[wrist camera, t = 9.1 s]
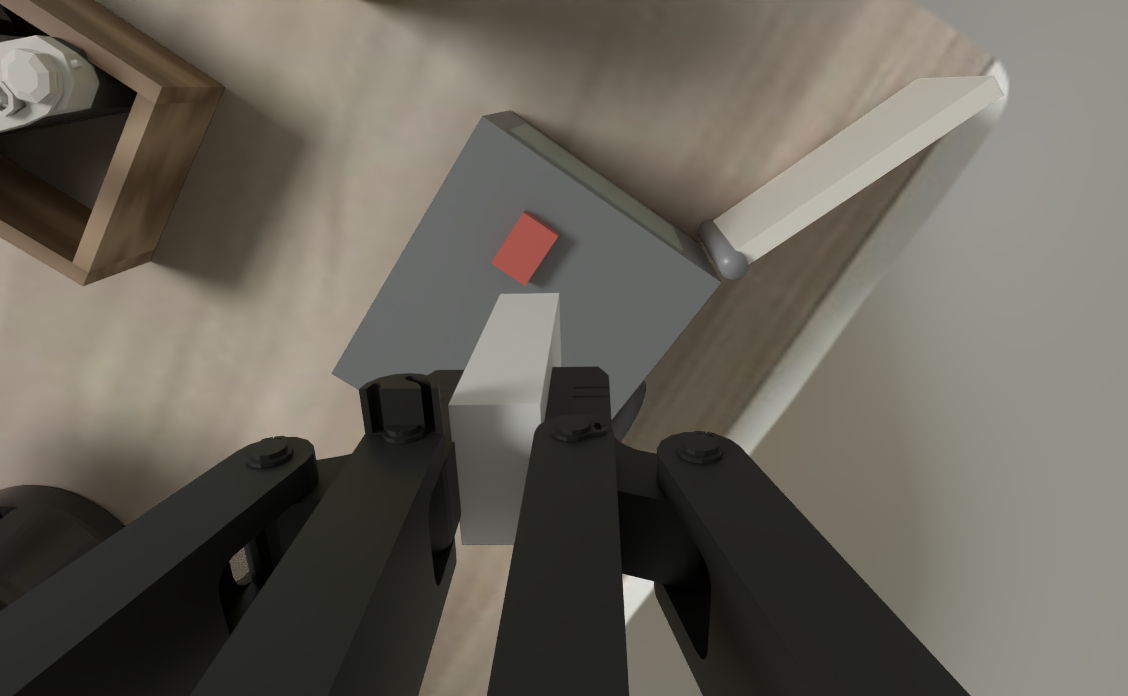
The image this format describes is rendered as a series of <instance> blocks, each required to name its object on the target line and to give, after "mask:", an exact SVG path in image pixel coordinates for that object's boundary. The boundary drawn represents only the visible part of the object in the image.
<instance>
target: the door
mask: <svg viewBox="0 0 1128 696" xmlns="http://www.w3.org/2000/svg"><path fill="white" fill-rule="evenodd" d="M1003 95H1004V94H1003V92H1002V90H1001V88H1000V86H999V84H998V82H997V80H996V78H995V76H972V77H945V78H917V79H916V80H914V81H913V82H911V83H910V84H909V85H907V86H906V87H904V88H903V89H901V90H900V91H899V92H897V93H896V94H894V95H893V96H891V97H890V98H889V99H887V100H886V101H884V102H883V103H881V104H880V105H878V106H877V107H876V108H874V109H873V110H871V111H870V112H868V113H867V114H866V115H864V116H863V117H861V118H860V119H858V120H857V121H856V122H854V123H853V124H851V125H850V126H848V127H847V128H845V129H844V130H843V131H841V132H840V133H838V134H837V135H835V136H834V137H833V138H831V139H830V140H828V141H827V142H825V143H824V144H822V145H821V146H820V147H818V148H817V149H815V150H814V151H812V152H811V153H810V154H808V155H807V156H805V157H804V158H802V159H801V160H800V161H798V162H797V163H795V164H794V165H792V166H791V167H789V168H788V169H787V170H785V171H784V172H782V173H781V174H779V175H778V176H777V177H775V178H774V179H772V180H771V181H769V182H768V183H767V184H765V185H764V186H762V187H761V188H759V189H758V190H756V191H755V192H754V193H752V194H751V195H749V196H748V197H746V198H745V199H744V200H742V201H741V202H739V203H738V204H736V205H735V206H733V207H732V208H731V209H729V210H728V211H726V212H725V213H723V214H722V215H721V216H719V217H718V218H716V219H715V220H706V221H704V222H702V223H701V225H700V226H699V229H698V234H699V237H700V238H701V240H702V242H703V243H704V245H705V247H706V249H707V250H708V252H709V254H710V255H711V257H712V259H713V260H714V262H715V264H716V266H717V267H718V269H719V271H720V272H721V274H722V275H723V276H724V277H725V278H727V279H730V280H736V279H739V278H741V277H742V276H744V275H745V273H746V272H747V270H748V265H749V264H751V263H752V262H754V261H755V260H757V259H758V258H760V257H761V256H763V255H764V254H766V253H767V252H769V251H770V250H772V249H773V248H775V247H776V246H778V245H779V244H781V243H782V242H784V241H785V240H787V239H788V238H790V237H791V236H793V235H794V234H796V233H797V232H799V231H800V230H802V229H803V228H805V227H806V226H808V225H809V224H811V223H812V222H814V221H815V220H817V219H818V218H820V217H821V216H823V215H824V214H826V213H827V212H829V211H830V210H832V209H833V208H835V207H836V206H838V205H839V204H841V203H842V202H844V201H845V200H847V199H848V198H850V197H851V196H853V195H854V194H856V193H857V192H859V191H860V190H862V189H863V188H865V187H866V186H868V185H869V184H871V183H872V182H874V181H875V180H877V179H879V178H880V177H882V176H883V175H885V174H886V173H888V172H889V171H891V170H892V169H894V168H895V167H897V166H898V165H900V164H901V163H903V162H904V161H906V160H907V159H909V158H910V157H912V156H913V155H915V154H916V153H918V152H919V151H921V150H922V149H924V148H925V147H927V146H928V145H930V144H931V143H933V142H934V141H936V140H937V139H939V138H940V137H942V136H943V135H945V134H946V133H948V132H949V131H951V130H952V129H954V128H955V127H957V126H958V125H960V124H961V123H963V122H964V121H966V120H967V119H969V118H970V117H972V116H973V115H975V114H976V113H978V112H979V111H981V110H982V109H984V108H985V107H987V106H988V105H990V104H991V103H993V102H994V101H996V100H997V99H999V98H1000V97H1002V96H1003Z"/></svg>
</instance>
